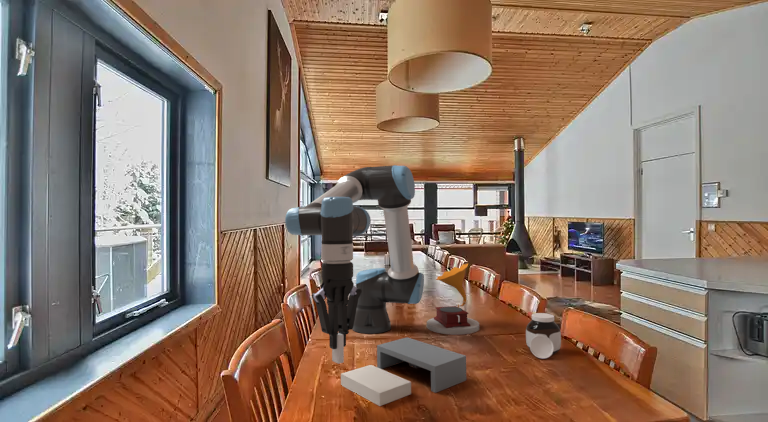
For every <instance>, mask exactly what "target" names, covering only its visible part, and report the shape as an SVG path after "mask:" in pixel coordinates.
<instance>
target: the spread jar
mask: <svg viewBox="0 0 768 422" xmlns="http://www.w3.org/2000/svg"><path fill="white" fill-rule="evenodd" d="M525 341H526V343H525V344H526V345H527V347H528V349H529V350H530V353H532V355H534V356H535V357H536V358H538V359H543V360H544V359H548V358H550V357H551V356H552V355H553V356H554V355H555V354H557V353H558V352H559V351H560V349H561V346H562V333H561V329H560V327H559V326H558V324H557V323H556V322H555V315H554V314H551V313H546V312H545V313H544V312H536V313H532V314H531V320H530V321H529V322H528V323H527V325H526V328H525Z"/></svg>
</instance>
